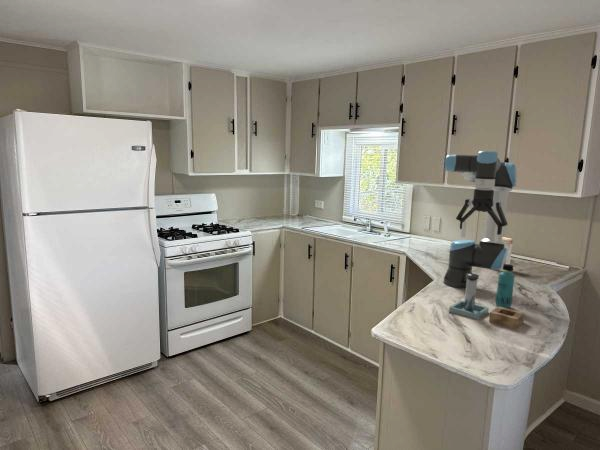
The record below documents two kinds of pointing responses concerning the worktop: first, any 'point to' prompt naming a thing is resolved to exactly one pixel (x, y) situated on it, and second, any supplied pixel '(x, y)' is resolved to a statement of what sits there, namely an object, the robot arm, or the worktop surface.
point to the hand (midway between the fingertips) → (479, 239)
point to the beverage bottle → (505, 287)
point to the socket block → (506, 317)
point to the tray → (459, 309)
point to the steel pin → (470, 292)
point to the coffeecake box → (508, 245)
